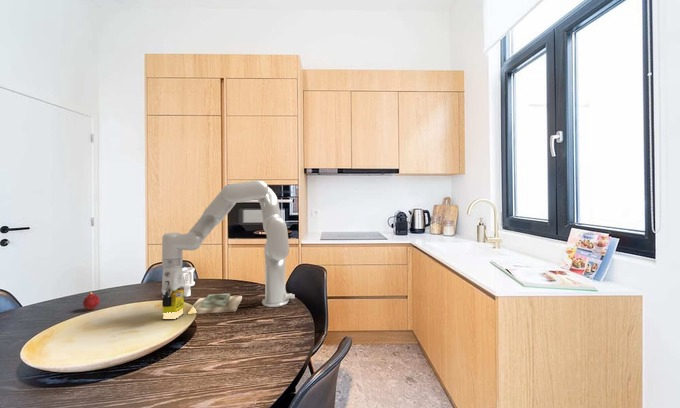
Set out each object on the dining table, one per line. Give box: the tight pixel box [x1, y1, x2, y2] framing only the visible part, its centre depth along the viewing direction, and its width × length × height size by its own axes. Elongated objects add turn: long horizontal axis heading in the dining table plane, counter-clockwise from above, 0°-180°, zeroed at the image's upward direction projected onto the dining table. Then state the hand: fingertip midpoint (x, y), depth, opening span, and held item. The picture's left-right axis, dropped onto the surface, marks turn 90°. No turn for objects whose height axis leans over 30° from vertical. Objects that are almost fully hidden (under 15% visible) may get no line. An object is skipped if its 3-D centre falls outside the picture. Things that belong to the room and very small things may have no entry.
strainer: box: [181, 267, 196, 298], centre depth 147 cm, size 7×7×15 cm
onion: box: [82, 291, 101, 311], centre depth 129 cm, size 6×6×8 cm
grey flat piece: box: [192, 293, 243, 315], centre depth 133 cm, size 20×16×4 cm
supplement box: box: [161, 289, 185, 313], centre depth 121 cm, size 6×6×11 cm
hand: (171, 302), depth 120 cm, fingers open, 9 cm apart
